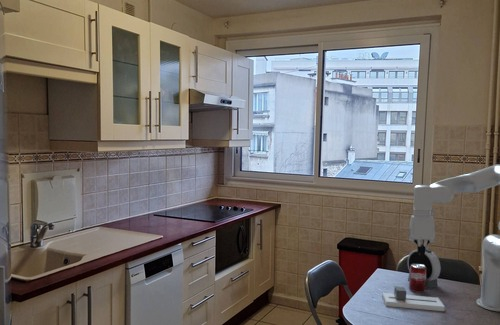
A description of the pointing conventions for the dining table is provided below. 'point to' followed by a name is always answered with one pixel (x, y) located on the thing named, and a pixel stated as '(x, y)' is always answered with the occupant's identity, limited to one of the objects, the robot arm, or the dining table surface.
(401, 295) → the fader knob
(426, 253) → the alarm clock
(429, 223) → the robot arm
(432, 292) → the dining table surface
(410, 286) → the soda can
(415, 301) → the console
